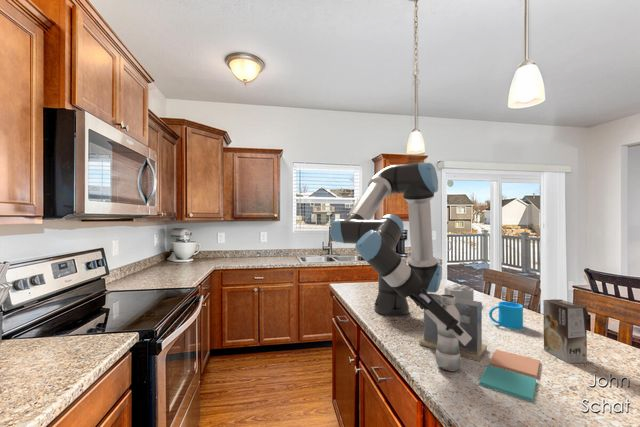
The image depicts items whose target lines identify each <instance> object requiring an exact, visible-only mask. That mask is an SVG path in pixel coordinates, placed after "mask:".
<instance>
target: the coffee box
mask: <svg viewBox="0 0 640 427" xmlns="http://www.w3.org/2000/svg"><path fill="white" fill-rule="evenodd" d="M542 302H543V303H542V304H543V312H542V313H543V350H544V351H545V352H547V353H549V354H551V355H553V356H554V357H556V358H558V359H560V360H561V361H564V362H566V363H567V364H577V363H578V364H582V363H585V364H586V363H588V348H587V347H588V344H587V343H588V340H587V339H588V337H587V335H588V334H587V332H588V329H587V327H588V326H587V323H588V322H587V320H588V319H587V307H586V306H582V305H579V304H576V303H573V302H569V301H565V300H563V299H557V298H556V299H553V298H552V299H544V300H542Z"/></svg>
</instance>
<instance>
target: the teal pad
mask: <svg viewBox="0 0 640 427" xmlns="http://www.w3.org/2000/svg"><path fill="white" fill-rule="evenodd" d="M478 385H479V386H483V387H485V388H488V389H492V390H494V391H497V392H500V393H504V394H507V395H510V396H513V397H516V398H519V399H522V400H525V401H528V402H531V403H533V401H534V397H535V390H536V386H537V379H536V378H533V377H529V376H526V375H522V374H519V373H515V372H512V371H508V370H505V369H501V368H498V367H494V366H491V365H489V364H487V365H486V368H485V369H484V371H483V372H482V375H481V377H480V378H479V380H478Z"/></svg>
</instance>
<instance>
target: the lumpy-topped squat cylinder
mask: <svg viewBox="0 0 640 427" xmlns="http://www.w3.org/2000/svg"><path fill="white" fill-rule="evenodd" d="M443 291H444V293H443V294H447V295H453V296H455V298H460V299H466V300H472V301H475V300H474V298H475V296H474V288H473V287H470V286H468V285H466V284H460V285H459V284H458V283H453V284H448V285H446V286H444V290H443Z"/></svg>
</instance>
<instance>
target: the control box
mask: <svg viewBox="0 0 640 427" xmlns="http://www.w3.org/2000/svg"><path fill="white" fill-rule="evenodd" d="M428 294H429V295H430V296H431V297H432V298H433V299H434V300H435V301H436V302H437V303H438V304H439V305H441V304H442V303H441V295H442V294H436V293H428ZM455 302H456V304H454V305H455V307H456V308H457V310H458V311H459V313H460V316H461V319H460V326H461V327H462V328H463V329H464V330H465V331H466V332H467V333H468V334H469V335H470V336H471V337H472V339H471V340H470V341H469V342H468V343H467V344H466V346H464V345H463V344H462V343H461V342H460V341H459V340H458V342H459V353H460V357H461V358H462V357H463V358H465V359H469V360H472V361H476V362H481V361H482V359H483V358H484V355H485V354H486V352H487V351H488V345H487V344H483V343H482V342H483V341H482V338H483V335H482V334H483V333H482V331H483V328H482V326H483V322H482V320H483V319H482V318H483V317H482V316H483V313H482V312H483V309H482V308H483V305H482V304H483V301H477V300H474V301H472V300H466V299H460V298H455ZM437 341H438V332H437V324H436V323H435V322H434V321H433V320H432V319H431V318H430V317H429V316H428V315H427V314H426V313H425V312H424V311H423V336H422V337H421V338H419V339H418V344H419V346H423V347H427V348H431V349H434V350H436V349H437Z"/></svg>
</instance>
